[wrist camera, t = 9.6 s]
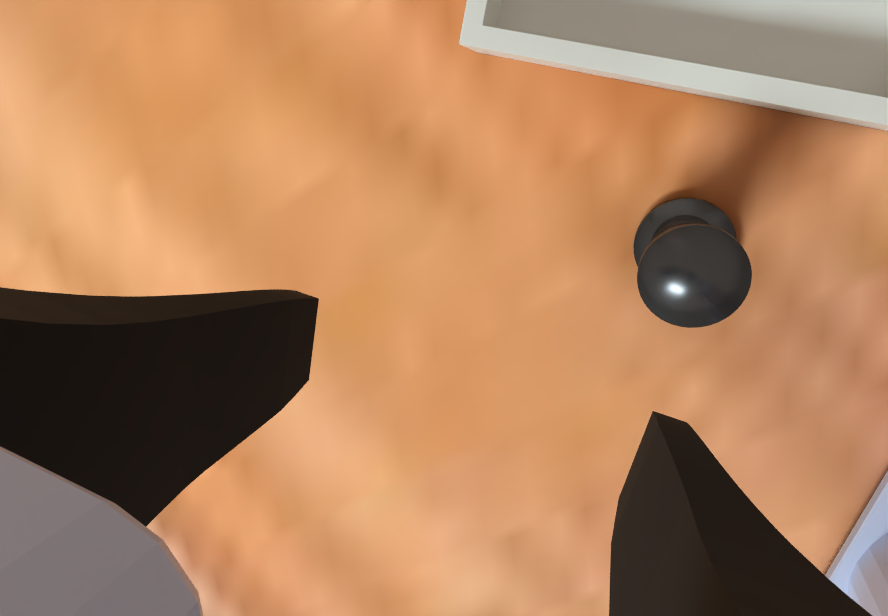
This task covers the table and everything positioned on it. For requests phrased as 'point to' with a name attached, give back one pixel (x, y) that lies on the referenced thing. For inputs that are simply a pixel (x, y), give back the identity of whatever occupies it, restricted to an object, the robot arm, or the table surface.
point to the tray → (707, 48)
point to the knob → (690, 263)
